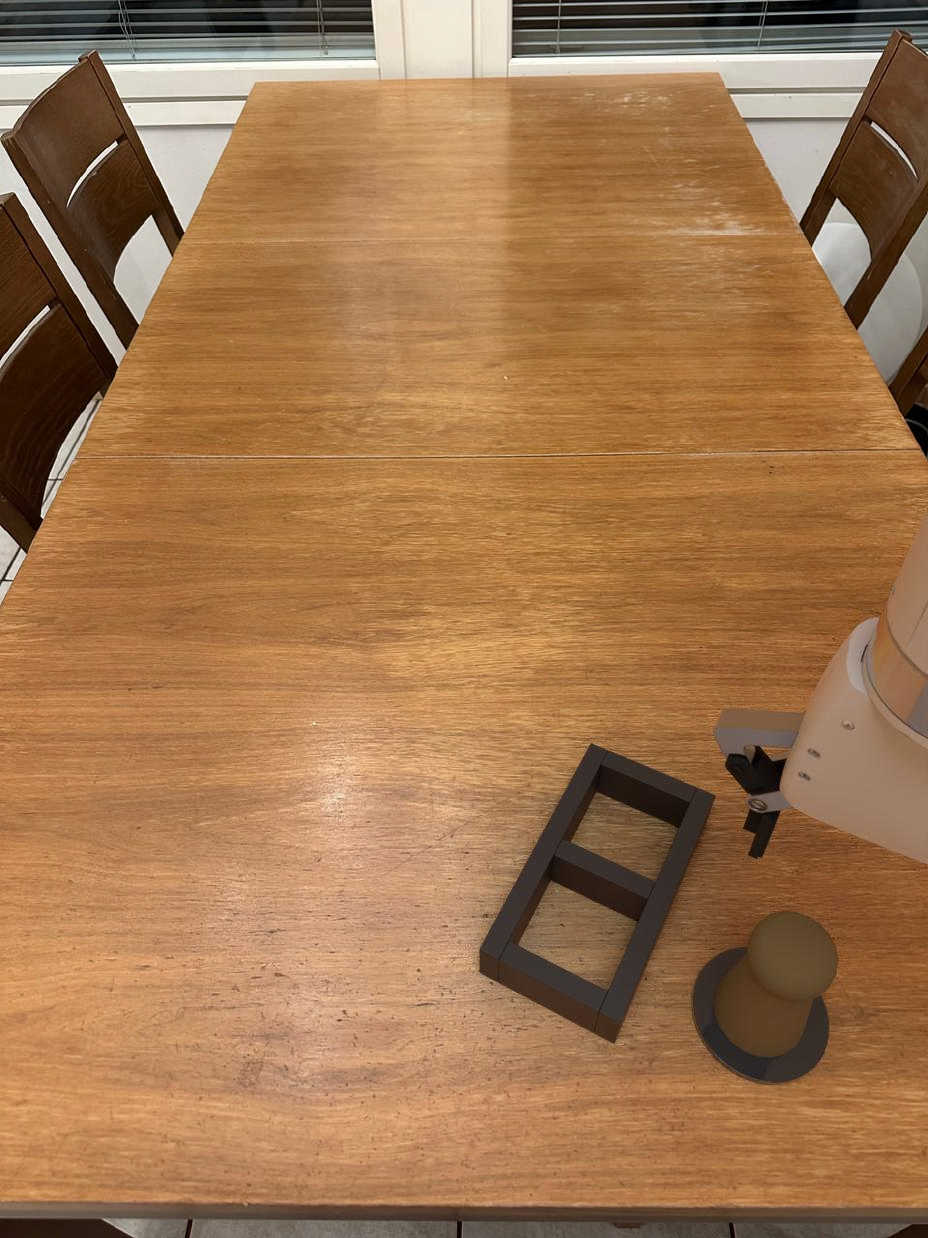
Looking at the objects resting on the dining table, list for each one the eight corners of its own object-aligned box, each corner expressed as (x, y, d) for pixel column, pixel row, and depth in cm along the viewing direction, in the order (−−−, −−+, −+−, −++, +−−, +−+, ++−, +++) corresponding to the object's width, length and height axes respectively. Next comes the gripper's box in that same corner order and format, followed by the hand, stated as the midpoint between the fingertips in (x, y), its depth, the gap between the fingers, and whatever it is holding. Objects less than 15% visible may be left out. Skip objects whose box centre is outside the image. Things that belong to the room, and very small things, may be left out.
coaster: (842, 986, 65) (844, 984, 65) (807, 1112, 60) (809, 1110, 60) (716, 928, 68) (717, 925, 68) (672, 1042, 63) (674, 1040, 63)
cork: (694, 1006, 64) (725, 938, 56) (750, 949, 67) (788, 876, 58) (767, 1078, 61) (811, 1017, 53) (823, 1015, 64) (873, 948, 55)
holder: (706, 822, 74) (716, 795, 71) (614, 1044, 63) (620, 1023, 60) (586, 770, 77) (590, 742, 74) (479, 972, 66) (478, 949, 63)
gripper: (1236, 674, 35) (1044, 886, 48) (778, 535, 41) (714, 756, 54) (1236, 833, 31) (1025, 1020, 44) (724, 652, 37) (669, 863, 50)
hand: (853, 874), depth 49 cm, fingers open, 9 cm apart
